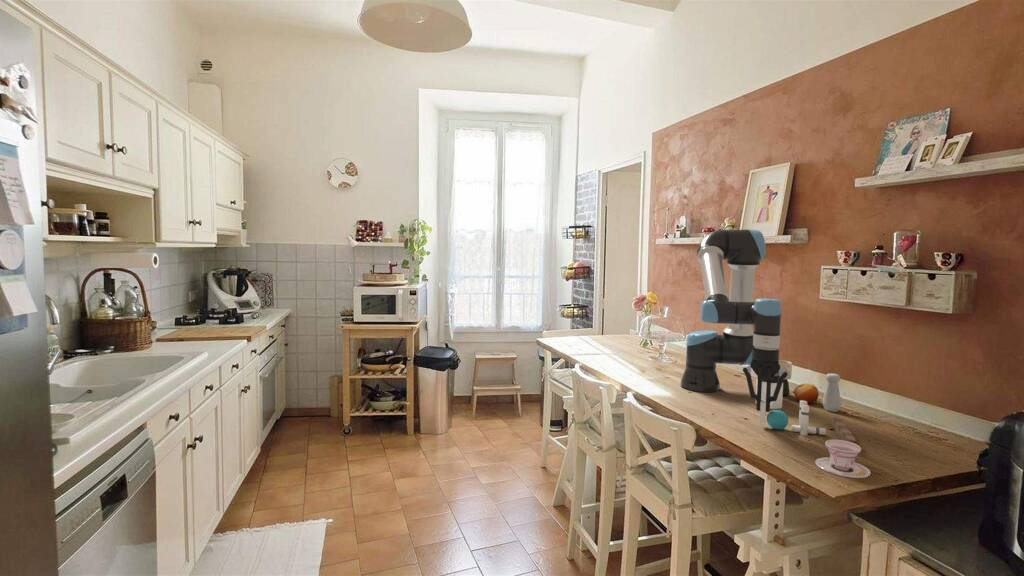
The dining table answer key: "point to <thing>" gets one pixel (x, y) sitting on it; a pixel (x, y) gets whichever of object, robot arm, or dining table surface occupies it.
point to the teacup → (842, 459)
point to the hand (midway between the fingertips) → (762, 421)
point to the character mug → (787, 367)
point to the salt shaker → (832, 393)
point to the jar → (774, 380)
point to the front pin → (810, 430)
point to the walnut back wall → (842, 430)
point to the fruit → (806, 393)
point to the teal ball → (777, 419)
